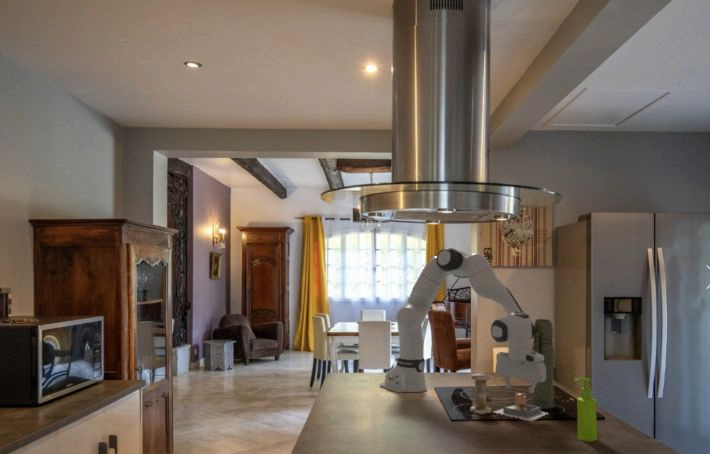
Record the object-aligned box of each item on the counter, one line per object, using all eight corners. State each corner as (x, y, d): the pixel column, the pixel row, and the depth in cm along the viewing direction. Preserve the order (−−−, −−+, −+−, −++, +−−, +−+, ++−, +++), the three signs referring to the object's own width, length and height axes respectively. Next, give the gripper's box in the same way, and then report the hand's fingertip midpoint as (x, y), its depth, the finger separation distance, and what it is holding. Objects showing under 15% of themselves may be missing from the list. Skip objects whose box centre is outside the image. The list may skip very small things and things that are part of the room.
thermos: (526, 407, 238) (527, 319, 240) (535, 401, 247) (536, 317, 249) (548, 410, 233) (549, 321, 235) (557, 405, 242) (558, 319, 244)
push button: (491, 395, 258) (491, 372, 259) (487, 398, 254) (487, 374, 254) (477, 393, 262) (477, 371, 262) (472, 396, 257) (472, 373, 258)
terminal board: (493, 413, 229) (493, 406, 229) (511, 407, 239) (511, 400, 239) (531, 421, 218) (531, 414, 218) (549, 414, 227) (548, 407, 228)
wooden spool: (466, 411, 232) (466, 375, 232) (477, 407, 237) (477, 372, 238) (484, 415, 226) (483, 378, 227) (495, 411, 232) (494, 375, 232)
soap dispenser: (571, 436, 200) (571, 376, 201) (591, 435, 200) (590, 376, 201) (579, 441, 194) (578, 380, 195) (600, 441, 194) (599, 380, 195)
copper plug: (513, 412, 228) (512, 394, 228) (518, 410, 231) (518, 392, 232) (523, 414, 225) (523, 395, 225) (529, 412, 228) (528, 394, 228)
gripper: (492, 352, 234) (492, 387, 234) (540, 358, 220) (540, 396, 219) (500, 350, 239) (500, 384, 238) (548, 356, 224) (548, 393, 224)
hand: (520, 390), depth 229 cm, fingers open, 8 cm apart
